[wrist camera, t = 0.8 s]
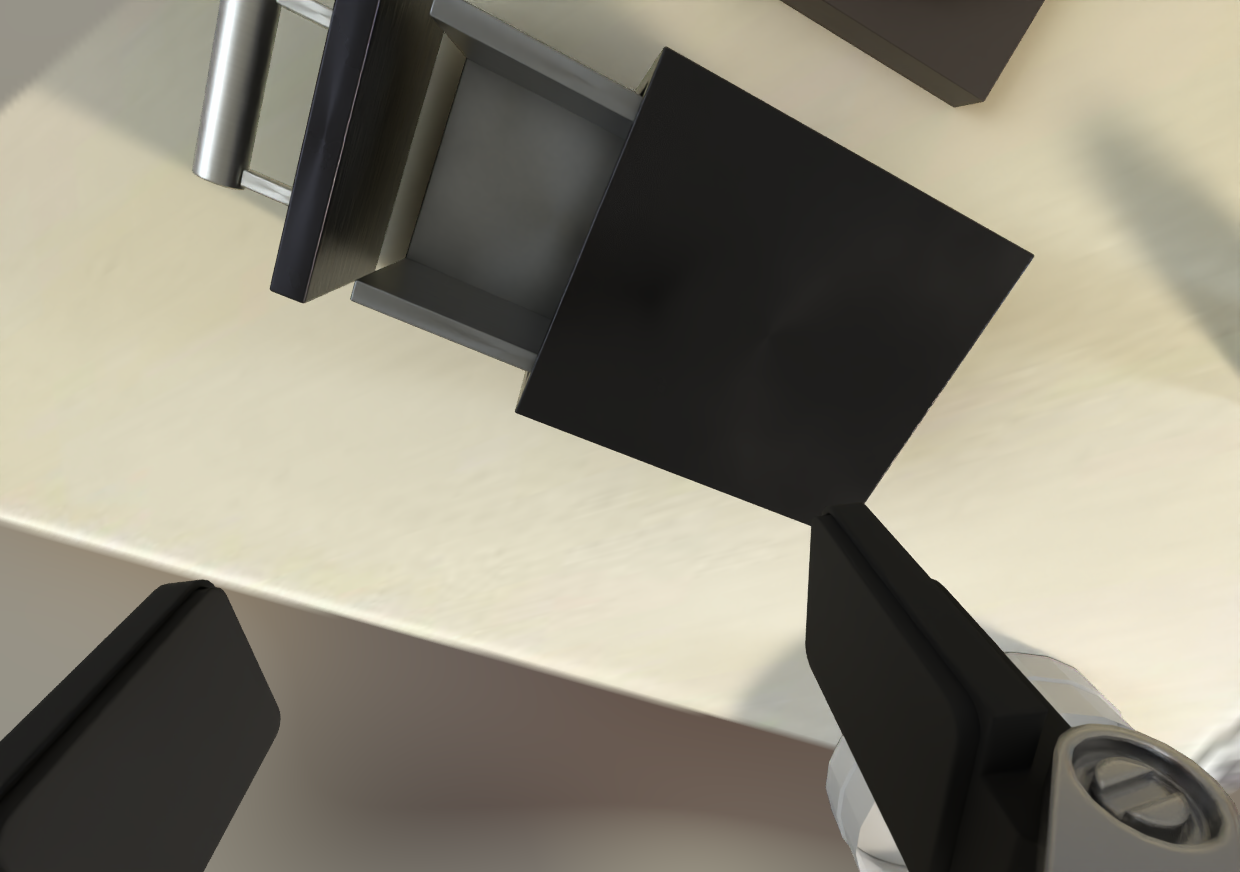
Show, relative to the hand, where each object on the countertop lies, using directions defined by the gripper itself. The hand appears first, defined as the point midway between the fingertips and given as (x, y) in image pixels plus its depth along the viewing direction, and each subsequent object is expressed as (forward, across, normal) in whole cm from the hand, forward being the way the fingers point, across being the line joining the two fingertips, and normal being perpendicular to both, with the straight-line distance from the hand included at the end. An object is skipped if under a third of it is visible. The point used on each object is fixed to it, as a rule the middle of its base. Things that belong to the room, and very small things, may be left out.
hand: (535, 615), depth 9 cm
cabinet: (+22, -8, 0) cm, 24 cm away
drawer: (+21, +3, -6) cm, 22 cm away
